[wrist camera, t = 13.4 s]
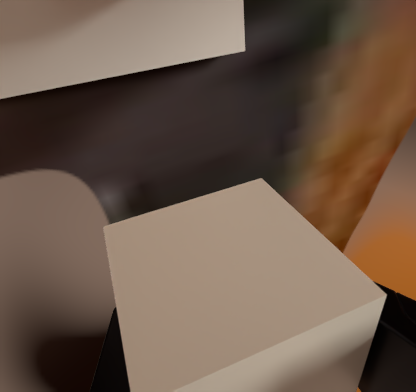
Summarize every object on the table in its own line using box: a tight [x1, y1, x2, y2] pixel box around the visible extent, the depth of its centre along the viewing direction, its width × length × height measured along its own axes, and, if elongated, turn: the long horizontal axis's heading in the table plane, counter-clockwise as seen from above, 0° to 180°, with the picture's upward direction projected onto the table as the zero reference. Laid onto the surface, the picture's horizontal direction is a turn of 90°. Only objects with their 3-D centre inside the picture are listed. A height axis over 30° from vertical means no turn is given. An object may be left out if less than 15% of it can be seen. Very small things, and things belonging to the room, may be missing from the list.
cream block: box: [103, 178, 387, 392], centre depth 9 cm, size 5×5×5 cm
